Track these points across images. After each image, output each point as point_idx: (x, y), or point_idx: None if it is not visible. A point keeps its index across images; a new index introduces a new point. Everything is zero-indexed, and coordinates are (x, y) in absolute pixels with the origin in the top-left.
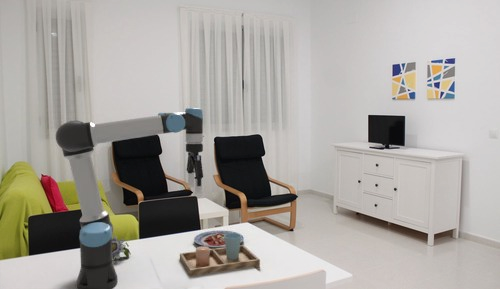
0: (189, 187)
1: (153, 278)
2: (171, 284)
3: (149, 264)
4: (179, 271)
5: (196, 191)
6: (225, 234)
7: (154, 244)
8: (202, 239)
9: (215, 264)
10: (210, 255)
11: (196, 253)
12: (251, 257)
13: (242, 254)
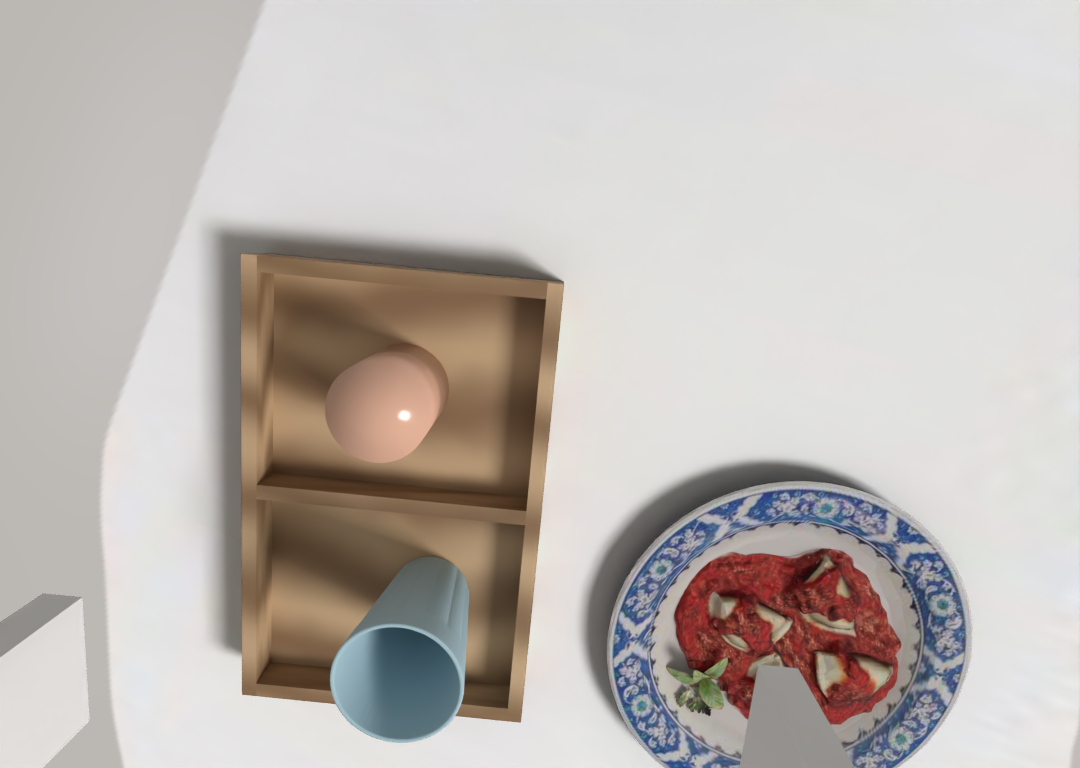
0: (754, 690)
1: (352, 32)
2: (222, 118)
3: (597, 65)
4: (393, 224)
5: (6, 638)
6: (447, 649)
7: (982, 204)
8: (865, 553)
9: None
10: (527, 485)
11: (376, 357)
12: None
13: None
